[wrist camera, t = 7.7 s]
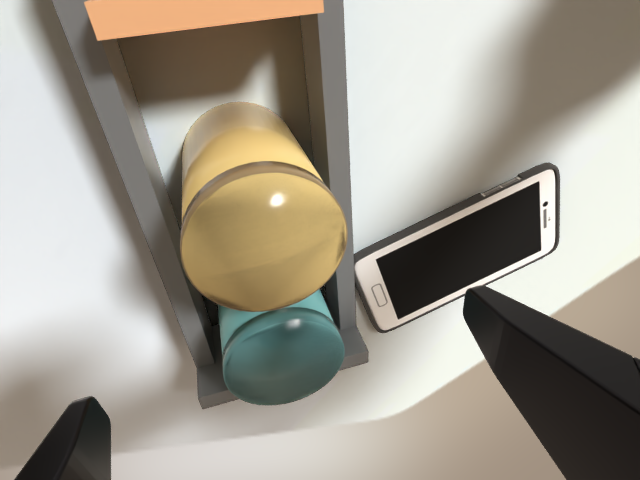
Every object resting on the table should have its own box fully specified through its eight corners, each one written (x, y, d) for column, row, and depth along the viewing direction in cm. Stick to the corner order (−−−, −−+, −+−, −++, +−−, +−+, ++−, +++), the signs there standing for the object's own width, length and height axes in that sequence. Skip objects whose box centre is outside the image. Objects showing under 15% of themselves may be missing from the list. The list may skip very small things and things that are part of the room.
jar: (304, 224, 24) (341, 305, 18) (312, 297, 27) (346, 385, 21) (203, 246, 23) (209, 339, 17) (225, 319, 26) (236, 418, 20)
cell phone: (341, 255, 26) (346, 264, 25) (550, 154, 26) (561, 160, 25) (373, 328, 31) (378, 337, 30) (551, 242, 31) (560, 250, 30)
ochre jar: (290, 91, 19) (343, 155, 13) (303, 198, 23) (350, 290, 16) (165, 111, 18) (156, 191, 12) (197, 219, 22) (204, 327, 15)
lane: (315, -93, 16) (360, -111, 12) (341, 304, 28) (368, 362, 24) (48, -72, 14) (-6, -85, 10) (199, 341, 26) (202, 409, 22)
